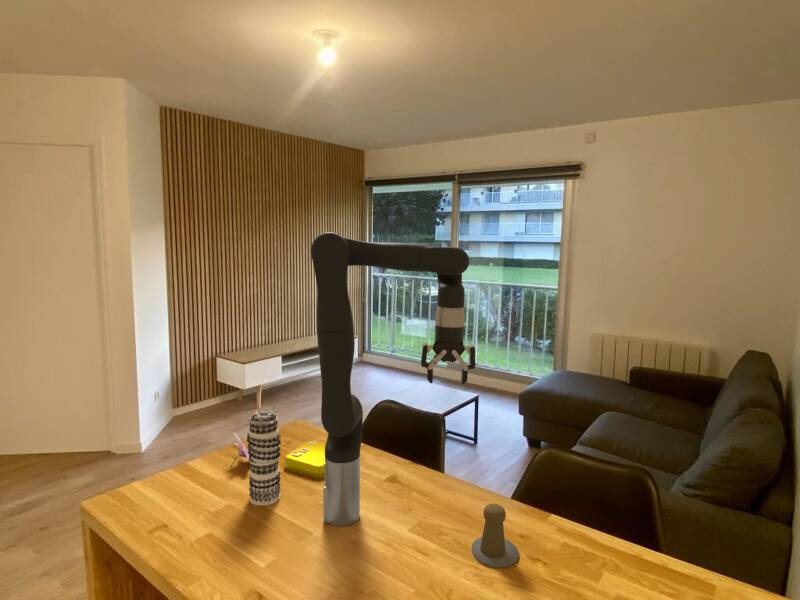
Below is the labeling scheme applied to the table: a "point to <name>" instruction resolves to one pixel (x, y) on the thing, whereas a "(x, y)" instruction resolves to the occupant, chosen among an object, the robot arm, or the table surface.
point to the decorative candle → (264, 458)
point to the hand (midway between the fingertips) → (446, 383)
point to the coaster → (502, 562)
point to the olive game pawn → (493, 532)
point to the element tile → (307, 459)
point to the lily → (241, 450)
